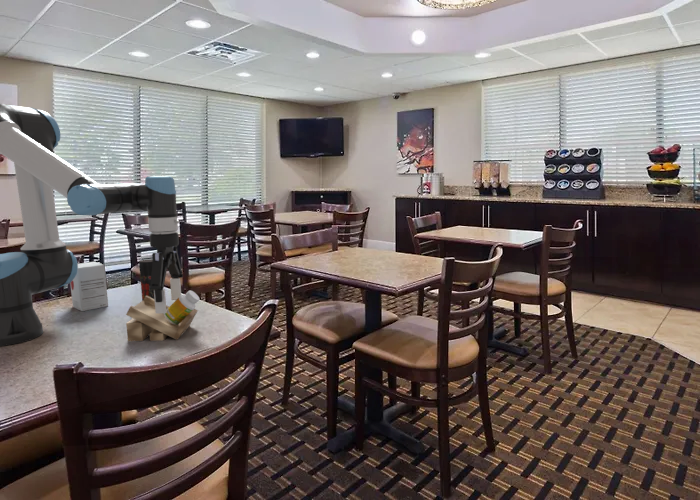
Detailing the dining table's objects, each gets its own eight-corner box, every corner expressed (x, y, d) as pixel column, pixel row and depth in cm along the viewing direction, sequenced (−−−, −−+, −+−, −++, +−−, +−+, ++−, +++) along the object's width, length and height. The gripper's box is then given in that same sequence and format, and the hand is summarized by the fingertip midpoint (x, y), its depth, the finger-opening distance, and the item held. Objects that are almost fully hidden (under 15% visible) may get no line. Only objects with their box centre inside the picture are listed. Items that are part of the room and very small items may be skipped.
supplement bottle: (171, 326, 131) (196, 302, 131) (159, 312, 132) (183, 288, 132) (181, 325, 137) (204, 301, 136) (169, 311, 138) (192, 288, 137)
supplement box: (71, 307, 163) (67, 264, 161) (99, 301, 170) (95, 261, 167) (81, 311, 157) (76, 268, 155) (109, 306, 164) (105, 264, 161)
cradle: (127, 341, 129) (124, 306, 127) (144, 327, 140) (141, 295, 139) (187, 339, 129) (185, 305, 128) (198, 326, 141) (196, 294, 140)
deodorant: (143, 300, 171) (140, 259, 169) (160, 298, 173) (157, 258, 171) (141, 304, 166) (137, 262, 163) (159, 302, 168) (156, 261, 165)
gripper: (162, 237, 118) (168, 319, 122) (190, 227, 143) (194, 294, 146) (132, 238, 118) (138, 319, 121) (165, 227, 142) (169, 295, 146)
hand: (169, 306), depth 134 cm, fingers open, 13 cm apart
